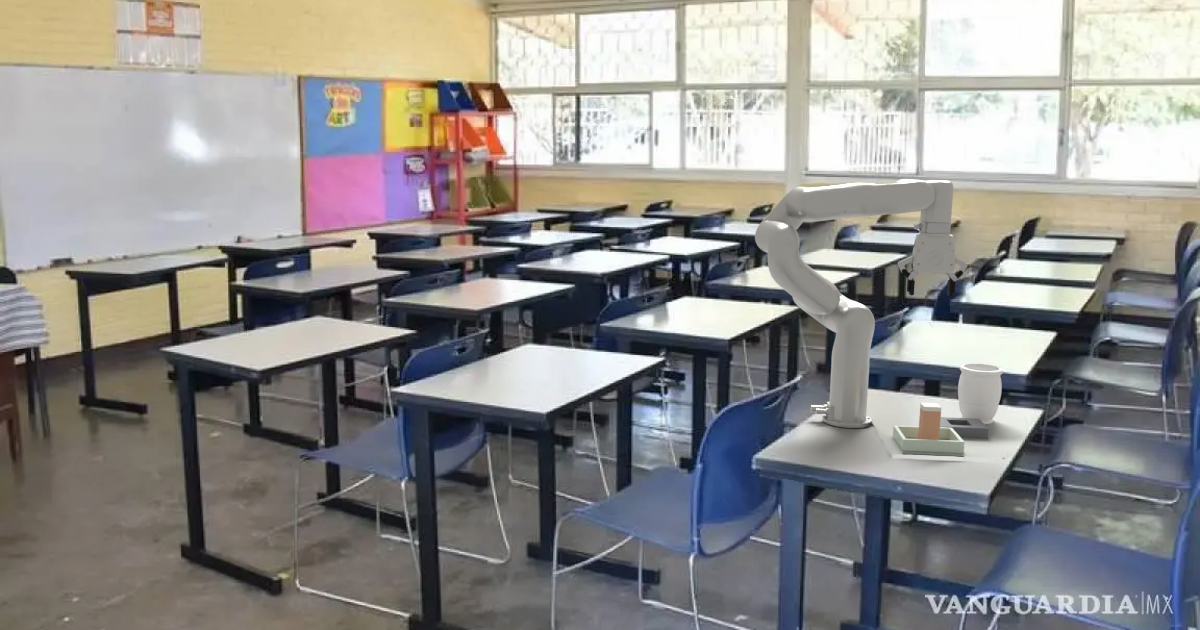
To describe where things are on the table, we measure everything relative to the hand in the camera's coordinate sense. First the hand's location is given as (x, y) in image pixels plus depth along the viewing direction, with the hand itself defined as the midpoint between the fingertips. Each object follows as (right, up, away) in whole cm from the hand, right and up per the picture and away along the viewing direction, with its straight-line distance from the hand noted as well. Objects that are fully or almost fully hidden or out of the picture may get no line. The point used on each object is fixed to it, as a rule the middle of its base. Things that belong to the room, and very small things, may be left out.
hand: (930, 295), depth 267 cm
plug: (-7, -36, -19) cm, 42 cm away
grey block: (+4, -35, -9) cm, 37 cm away
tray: (-7, -37, -19) cm, 42 cm away
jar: (+13, -34, +4) cm, 36 cm away
